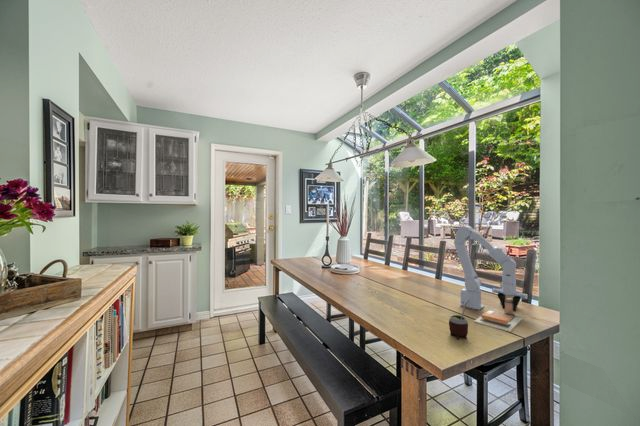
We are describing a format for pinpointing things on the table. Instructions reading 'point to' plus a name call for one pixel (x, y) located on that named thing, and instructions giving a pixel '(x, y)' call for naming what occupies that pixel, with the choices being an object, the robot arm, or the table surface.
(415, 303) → the table surface
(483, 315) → the button
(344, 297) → the table surface
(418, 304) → the table surface
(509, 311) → the cylinder
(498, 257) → the robot arm
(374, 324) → the table surface
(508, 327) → the picture board
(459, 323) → the mate gourd
